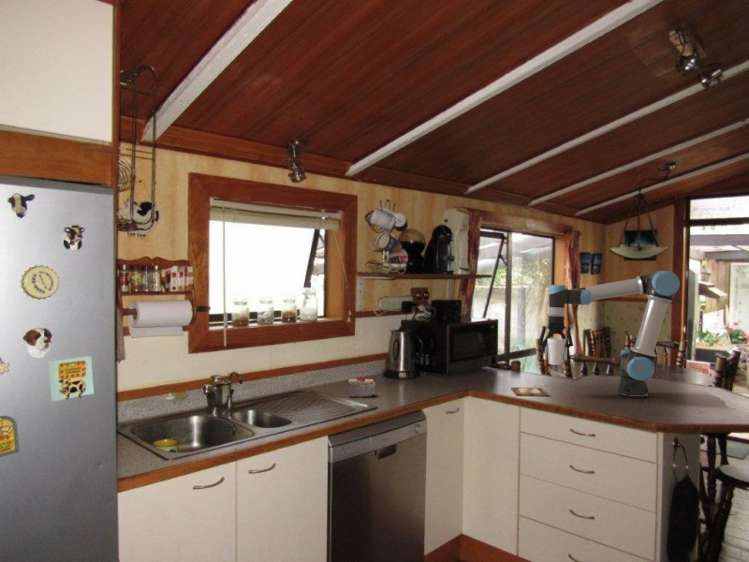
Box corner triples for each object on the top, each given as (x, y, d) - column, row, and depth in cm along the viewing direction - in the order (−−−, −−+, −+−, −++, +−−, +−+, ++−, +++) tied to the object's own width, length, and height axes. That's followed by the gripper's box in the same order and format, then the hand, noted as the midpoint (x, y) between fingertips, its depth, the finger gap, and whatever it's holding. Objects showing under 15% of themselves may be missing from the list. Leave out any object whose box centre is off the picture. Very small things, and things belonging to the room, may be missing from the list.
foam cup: (561, 366, 266) (562, 339, 266) (542, 363, 272) (543, 338, 271) (567, 363, 274) (568, 338, 274) (549, 361, 279) (549, 336, 279)
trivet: (541, 389, 287) (541, 387, 287) (549, 396, 271) (549, 394, 271) (510, 389, 288) (510, 386, 288) (516, 395, 272) (516, 393, 272)
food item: (373, 394, 275) (373, 374, 275) (375, 397, 267) (375, 377, 267) (346, 394, 273) (346, 375, 273) (347, 398, 266) (347, 378, 265)
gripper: (576, 315, 275) (575, 359, 276) (532, 314, 277) (531, 357, 277) (581, 316, 268) (579, 361, 268) (536, 315, 269) (534, 360, 270)
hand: (555, 359), depth 273 cm, fingers closed on foam cup, 9 cm apart
